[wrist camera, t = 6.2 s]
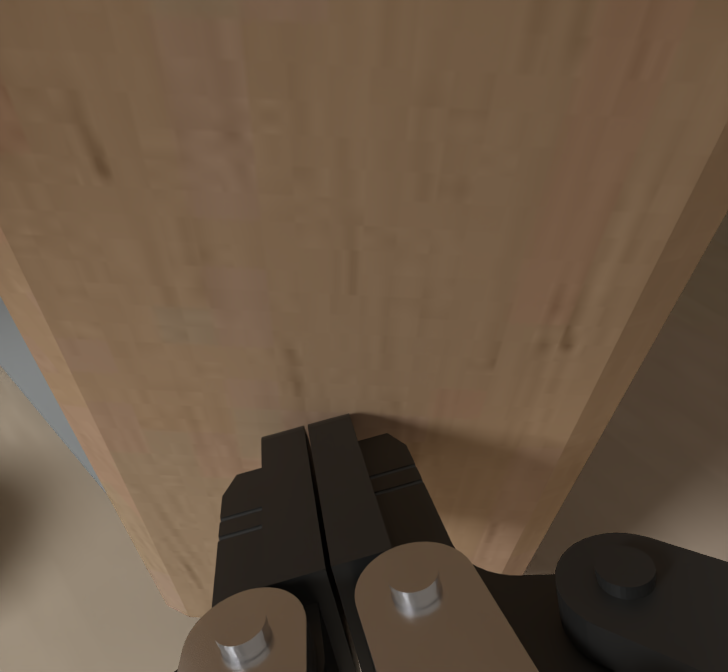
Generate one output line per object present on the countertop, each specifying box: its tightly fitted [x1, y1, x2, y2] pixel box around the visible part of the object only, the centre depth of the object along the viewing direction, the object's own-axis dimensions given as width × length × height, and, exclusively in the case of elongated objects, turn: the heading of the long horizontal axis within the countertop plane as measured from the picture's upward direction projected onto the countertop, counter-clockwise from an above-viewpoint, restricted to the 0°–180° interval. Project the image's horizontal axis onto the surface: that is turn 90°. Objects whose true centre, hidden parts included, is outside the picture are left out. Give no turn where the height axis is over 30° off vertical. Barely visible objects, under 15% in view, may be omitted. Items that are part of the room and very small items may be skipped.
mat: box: [0, 296, 107, 494], centre depth 27 cm, size 15×16×1 cm
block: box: [0, 0, 728, 617], centre depth 14 cm, size 10×10×20 cm
